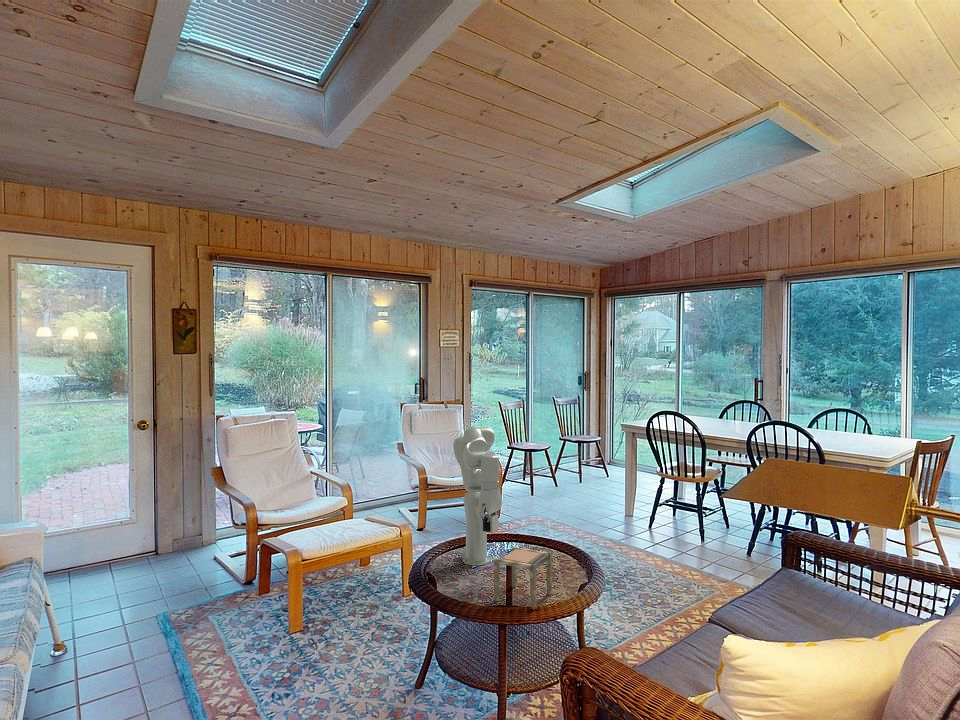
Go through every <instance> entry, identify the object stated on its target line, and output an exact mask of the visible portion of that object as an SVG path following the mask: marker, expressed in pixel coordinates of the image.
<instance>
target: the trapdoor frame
mask: <svg viewBox="0 0 960 720" xmlns="http://www.w3.org/2000/svg"><path fill="white" fill-rule="evenodd" d="M515 549H519V550H524V551H530V552H536V553H543V554H544V556H543V557H542V558H540V559H539V560H538V561H536V562H535V563H534V564H532V565H531V564H526V563H521V562H515V561H510V560H504V559H502V558H498V557H494V558H493V601H494V602H498V603H499V601H500V599H501V598H500V597H501V596H500V595H501V594H500V592H501V590H500V586H501V584H500V565H504V566H509V567H511V588H514V589H515V588H517V587H518V568H520V569H524V570H529V579H530V580H529V584H530V585H529V587H530V590H529V593H530V596H529V598H530V600H529V601H530V607H536V608H537V568H539V567H540V566H542V565H543V564H544V563H546V595H549V596H552V594H553V555H552V552H546V551H541V550H534V549H529V548H523V547H517V546H512V547H511V552H512V551H514V550H515ZM530 607H529V608H530Z"/></svg>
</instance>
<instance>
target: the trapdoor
mask: <svg viewBox="0 0 960 720" xmlns="http://www.w3.org/2000/svg"><path fill="white" fill-rule="evenodd" d="M543 556H544V554H543V553H536V552H530V551H524V550H519V549H515V550H514V551H512V550H511V552H509V553H507V554H506V555H505V556H503V557H501V559H504V560H510V561H515V562H521V563H526V564H531V565H532V564H534V563H535V562H536V561H538V560H539V559H540V558H542V557H543Z"/></svg>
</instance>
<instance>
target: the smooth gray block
mask: <svg viewBox="0 0 960 720" xmlns="http://www.w3.org/2000/svg"><path fill="white" fill-rule="evenodd" d="M485 516H486V517H488V515H485ZM489 522H490V532H487V533H489V534H493V533H496V532H497V531H499V514H498V515H493V514H490V521H489ZM482 532H486V531H483V521H482Z"/></svg>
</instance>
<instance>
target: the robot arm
mask: <svg viewBox="0 0 960 720" xmlns="http://www.w3.org/2000/svg"><path fill="white" fill-rule="evenodd" d="M495 440H496V439H495V432H494V430H493V429H492V427H491V428H490V427H487V426H485V427H484V426H483V427H481V426H479V427H469V428H467V429H465V431H464V432H463V434H462V436H460V437H456V438H455V439H454V440H453V444H452V445H453V446H452V447H453V453H454V454H453V455H454V457H455V459H456V461H457V463H458V465H459V468H460V471H461V476H462V483H463V484H462V485H463V486H464V489H465V490H466V491H467V492H466V493H465V494H464V497H463V506H464V513H465V516H464V517H465V548H460V549H459V553H458V554H459V555H462V556H463V557H462V563H463V562H464V564H465V565H468V566H475V567H476V566H479V567H480V566H483V565H484V566H485V565H488V564H489V563H490V562H491V557H490V556H489V555H487V554H488V551H487V550H488V548H487V545H488V544H487V543H488V542H487V541H488V539H487V535H488V534H487V533H488V532H490V522H489V521H490V514H493V515H498V516H499V511H500V510H501V509H502V506H503V499H502V495H501V489H500V456H499V455H498V454H497V452H496V451H492V450H490V449H492V448H491V447H492V446H493V445H494V444H495V443H494V442H495ZM485 515H488V517H486V516H485ZM482 521H483V531H486V532H482Z"/></svg>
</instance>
